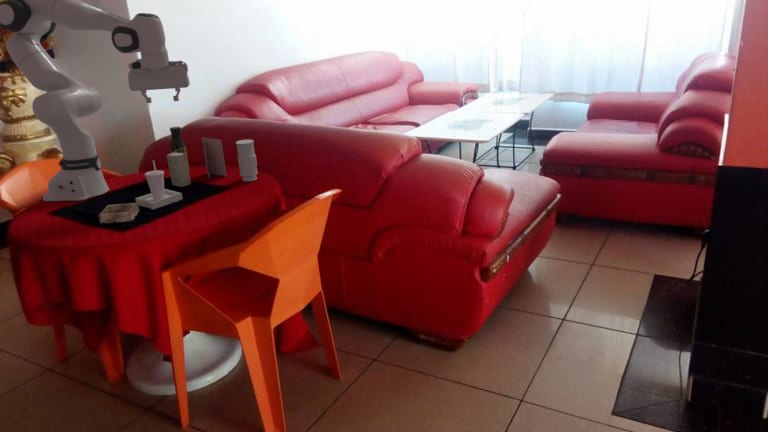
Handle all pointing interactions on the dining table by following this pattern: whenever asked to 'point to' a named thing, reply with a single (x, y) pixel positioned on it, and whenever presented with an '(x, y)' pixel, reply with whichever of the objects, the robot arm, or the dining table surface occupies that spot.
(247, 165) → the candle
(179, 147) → the sauce bottle
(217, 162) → the greeting card
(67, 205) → the dining table surface
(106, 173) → the dining table surface
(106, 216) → the frame
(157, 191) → the smoothie
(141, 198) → the tray
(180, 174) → the skincare box
